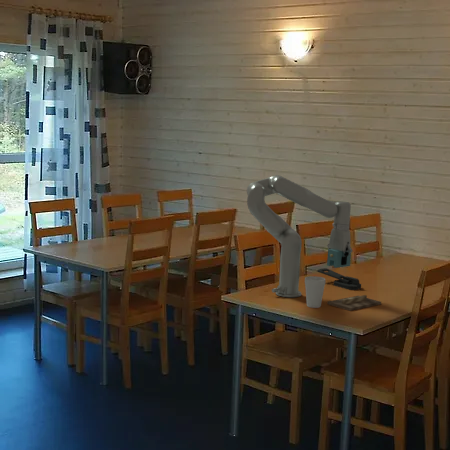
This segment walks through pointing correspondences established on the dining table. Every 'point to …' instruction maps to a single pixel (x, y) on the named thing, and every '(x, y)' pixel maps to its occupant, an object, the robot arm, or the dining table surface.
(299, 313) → the dining table surface
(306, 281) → the foam cup
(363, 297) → the board
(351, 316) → the dining table surface
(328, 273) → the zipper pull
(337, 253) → the cabinet
